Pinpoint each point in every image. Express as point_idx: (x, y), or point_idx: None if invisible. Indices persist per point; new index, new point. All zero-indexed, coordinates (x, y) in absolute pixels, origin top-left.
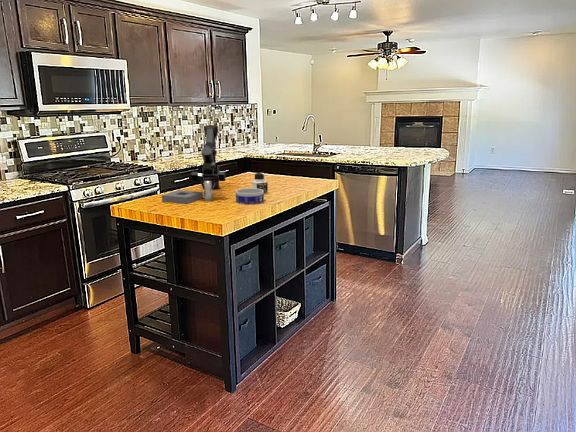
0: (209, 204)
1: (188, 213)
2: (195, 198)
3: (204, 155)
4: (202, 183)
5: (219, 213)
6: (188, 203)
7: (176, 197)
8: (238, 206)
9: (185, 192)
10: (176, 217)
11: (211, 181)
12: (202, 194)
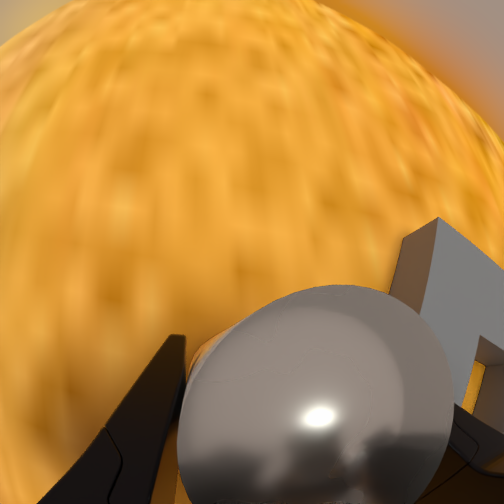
0: (216, 183)
1: (321, 36)
2: None
3: None
4: None
5: (166, 9)
6: (401, 248)
7: (498, 271)
8: (19, 108)
9: None
10: (349, 18)
11: (184, 397)
12: None
